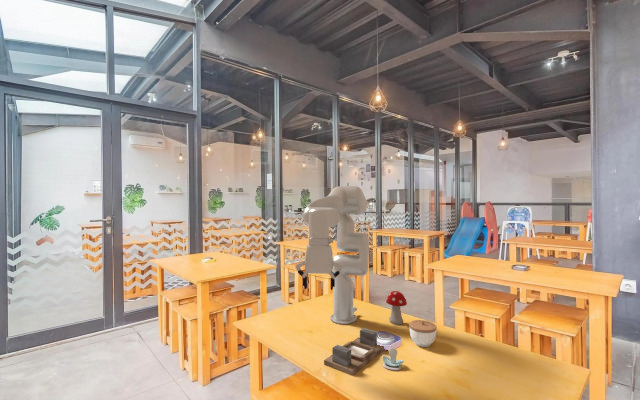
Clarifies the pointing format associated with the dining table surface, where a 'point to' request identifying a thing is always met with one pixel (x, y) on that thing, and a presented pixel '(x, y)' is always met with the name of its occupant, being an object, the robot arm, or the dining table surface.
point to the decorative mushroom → (396, 306)
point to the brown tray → (355, 353)
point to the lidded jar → (422, 332)
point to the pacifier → (392, 360)
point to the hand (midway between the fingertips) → (318, 288)
